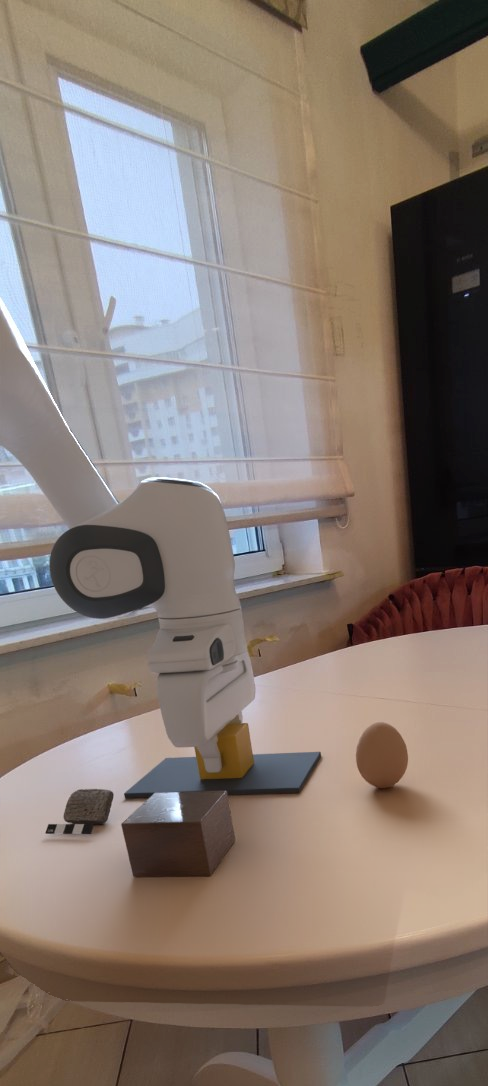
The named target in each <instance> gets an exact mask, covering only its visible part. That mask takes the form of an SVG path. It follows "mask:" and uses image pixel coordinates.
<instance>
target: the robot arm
mask: <svg viewBox="0 0 488 1086" xmlns="http://www.w3.org/2000/svg"><path fill="white" fill-rule="evenodd" d="M51 394H52V393H51V392H50V391H49V388H48V386H47V384H46V382H45V381H44V379H43V377H42V375H41V374H40V371H39V369H38V367H37V365H36V364H35V362H34V359H33V357H32V356H31V353H30V351H29V349H28V347H27V345H26V343H25V341H24V339H23V337H22V335H21V333H20V331H19V329H18V328H17V326H16V324H15V322H14V320H13V318H12V317H11V315H10V312H9V311H8V309H7V307H6V306H5V303H4V302H3V300H2V298H1V297H0V446H2V447H3V448H4V449H5V450H6V451H8V452H9V453H10V454H11V455H12V456H13V457H14V458H15V459H16V460H17V461H18V462H19V463H20V464H21V465H22V466H23V468H24V469H25V470H26V471H27V472H28V473H29V475H30V476H31V478H32V479H33V480H34V482H35V483H36V485H37V486H38V488H39V489H40V490H41V492H42V493H43V494H44V496H45V497H46V498H47V500H48V502H49V503H50V504H51V506H52V507H53V509H54V510H55V512H57V514H58V516H59V517H60V519H62V521H63V522H64V524H65V525H66V527H67V528H68V529H67V530H66V531H64V533H62V534H61V535H60V536H59V537H58V539H56V541H55V542H54V544H53V547H52V549H51V552H50V555H49V564H48V565H49V576H50V579H51V583H52V586H53V587H54V590H55V591H56V593H57V595H58V597H60V599H61V600H62V602H64V603H65V605H67V606H68V608H70V609H71V610H73V611H74V612H76V613H78V614H80V615H82V616H84V617H87V618H91V619H97V620H98V619H99V620H115V619H120V618H123V617H125V616H127V615H131V614H134V613H135V612H138V611H144V610H146V609H148V608H153V609H154V610H155V611H156V613H157V618H158V624H159V629H158V631H157V634H156V638H155V640H154V641H153V644H152V645H151V647H150V648H149V649H148V651H147V654H146V662H147V667H148V670H149V672H150V674H158V675H157V676H156V682H155V686H156V687H155V688H156V696H157V700H158V704H159V710H160V713H161V714H160V715H161V718H162V722H163V726H164V729H165V733H166V736H167V738H168V740H169V742H170V743H171V744H172V746H174V747H175V748H194V747H196V748H197V749H198V751H199V753H200V754H201V756H202V758H203V760H204V765H205V770H206V771H207V772H208V773H216V772H220V771H221V769H222V768H223V767H224V765H225V764H224V758H223V753H220V752H219V749H218V746H217V743H216V742H218V737H217V733H218V732H219V731H221V730H222V729H223V728H224V727H225V726H226V725H227V724H237V723H243V720H244V717H243V710H245V709H246V708H247V707H248V706H249V705H250V704H251V703H253V701H254V700H255V699H256V693H257V692H256V691H257V687H256V681H255V677H254V672H253V667H252V662H251V656H250V653H249V650H248V643H247V636H246V630H245V622H244V616H243V610H242V603H241V601H240V599H239V598H240V597H239V596H238V594H237V591H236V588H235V569H236V566H235V565H236V563H235V557H234V551H233V544H232V539H231V534H230V529H229V525H228V521H227V516H226V514H225V510H224V507H223V504H222V501H221V498H220V497H219V496H218V493H216V492H215V491H214V490H213V489H212V488H211V487H209V486H208V485H206V484H204V483H202V482H200V481H197V480H188V479H183V478H174V477H173V478H172V477H157V476H154V477H148V478H146V479H142V480H141V481H140V482H139V483H138V485H137V486H136V488H135V489H134V490H132V492H131V493H129V495H127V496H126V497H125V498H123V499H122V500H121V501H119V500H118V499H117V497H116V495H114V493H113V491H112V489H111V488H110V487H109V485H108V484H107V483H106V481H105V480H104V478H103V477H102V475H101V473H100V472H99V470H98V469H97V467H96V466H95V464H94V463H93V461H92V460H91V458H90V456H89V455H88V454H87V452H86V450H85V449H84V448H83V446H82V445H81V443H80V442H79V440H78V438H77V437H76V435H75V434H74V433H73V431H72V429H71V428H70V426H69V425H68V424H67V422H66V420H65V419H64V417H63V415H62V413H61V411H60V410H59V408H58V406H57V404H56V402H55V400H54V399H53V396H52V395H51Z"/></svg>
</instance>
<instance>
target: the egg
mask: <svg viewBox="0 0 488 1086" xmlns="http://www.w3.org/2000/svg"><path fill="white" fill-rule="evenodd" d="M355 750H356V751H355V762H356V767H357V770H358V772H359V774H360V775H361V776H360V777H362V779H364V780H365V782H366V783H368V784H369V785H371V786H372V787H375V788H379V789H389V788H391V787H393V786H395V785H396V784H398V783H399V781H400V780H402V778H403V777H404V775H405V773H406V771H407V769H408V764H409V753H408V748H407V745H406V741H405V739H404V738H403V736H402V734H401V732H399V731H398V729H397V728H395V726H393V725H391V724H390V723H387V722H383V721H378V722H374V723H372V724H370V725H369V726H367V727H366V729H364V731H362V734H361V736H360V738H359V740H358V743H357V745H356V749H355Z"/></svg>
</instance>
